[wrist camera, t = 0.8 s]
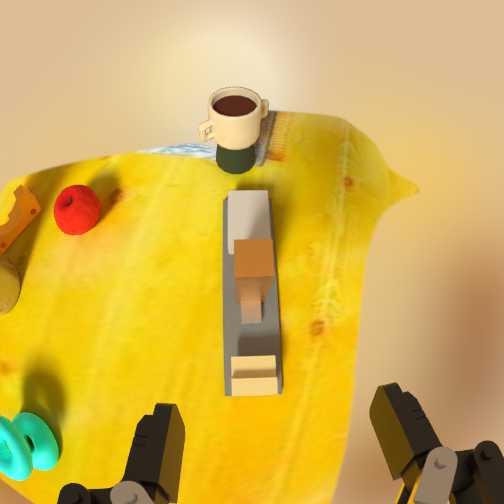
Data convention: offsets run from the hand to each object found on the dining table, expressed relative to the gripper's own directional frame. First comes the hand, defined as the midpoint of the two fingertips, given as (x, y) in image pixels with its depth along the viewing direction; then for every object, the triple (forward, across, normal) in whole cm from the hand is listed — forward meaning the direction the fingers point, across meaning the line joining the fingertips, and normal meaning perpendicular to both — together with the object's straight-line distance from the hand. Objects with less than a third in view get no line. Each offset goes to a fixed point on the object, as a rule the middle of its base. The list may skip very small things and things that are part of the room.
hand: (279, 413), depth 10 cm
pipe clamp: (+35, +44, -1) cm, 56 cm away
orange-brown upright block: (+28, +1, +6) cm, 29 cm away
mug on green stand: (+41, +2, -6) cm, 42 cm away
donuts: (+9, +36, +27) cm, 45 cm away
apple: (+34, +26, 0) cm, 43 cm away
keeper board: (+27, +1, +9) cm, 28 cm away
